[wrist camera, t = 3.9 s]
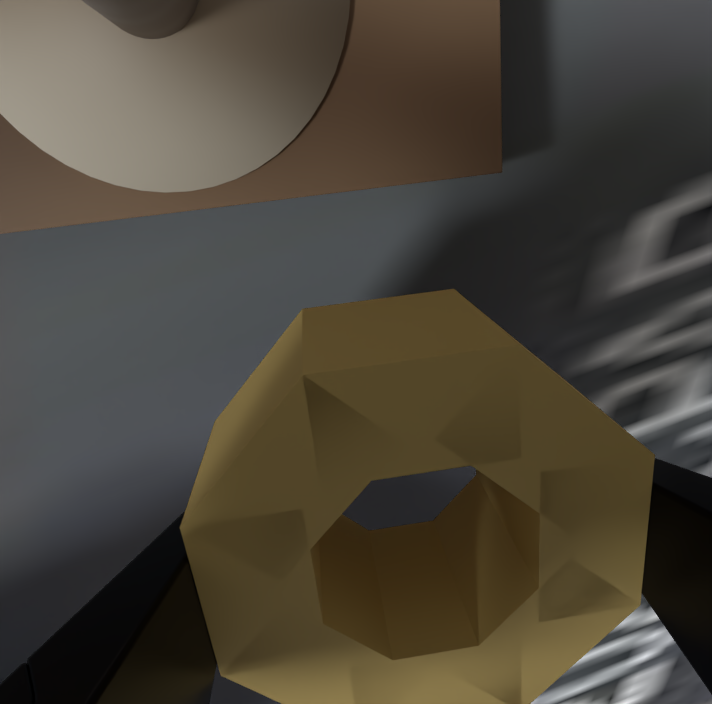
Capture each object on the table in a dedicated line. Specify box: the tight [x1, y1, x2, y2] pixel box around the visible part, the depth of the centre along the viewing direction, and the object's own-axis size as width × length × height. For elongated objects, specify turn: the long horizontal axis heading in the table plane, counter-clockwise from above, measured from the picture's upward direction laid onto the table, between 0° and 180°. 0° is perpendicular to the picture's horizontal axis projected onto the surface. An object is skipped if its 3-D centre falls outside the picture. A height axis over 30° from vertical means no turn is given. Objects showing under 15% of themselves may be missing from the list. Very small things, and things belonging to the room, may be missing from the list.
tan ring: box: [180, 289, 655, 704], centre depth 9 cm, size 6×6×3 cm
